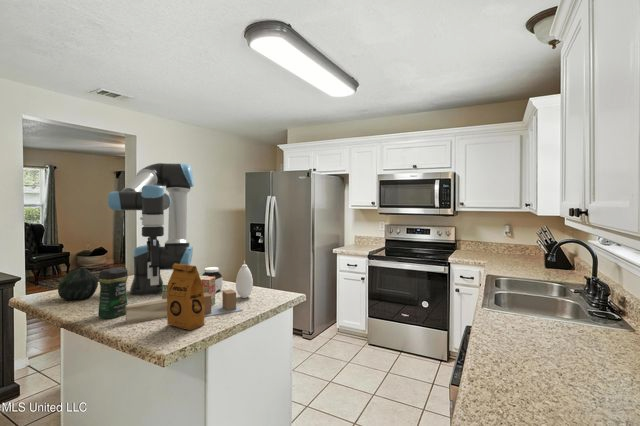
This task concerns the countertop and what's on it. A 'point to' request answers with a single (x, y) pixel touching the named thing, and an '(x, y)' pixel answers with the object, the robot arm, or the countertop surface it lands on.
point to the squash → (77, 284)
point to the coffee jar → (112, 292)
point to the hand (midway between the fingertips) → (152, 281)
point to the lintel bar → (146, 311)
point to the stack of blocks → (207, 287)
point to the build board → (221, 311)
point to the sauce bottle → (244, 281)
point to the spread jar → (214, 273)
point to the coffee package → (185, 298)
